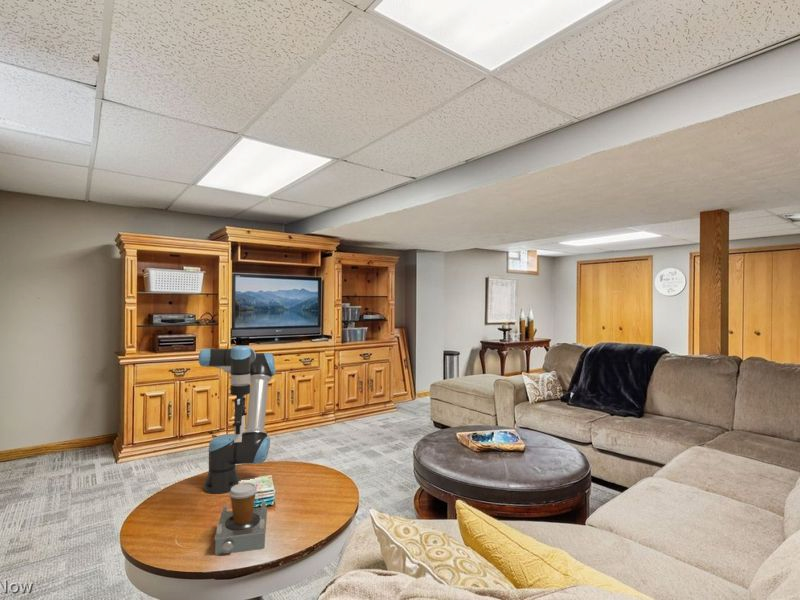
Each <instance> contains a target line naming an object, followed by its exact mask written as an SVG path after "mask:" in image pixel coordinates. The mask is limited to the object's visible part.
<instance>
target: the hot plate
mask: <svg viewBox="0 0 800 600" xmlns="http://www.w3.org/2000/svg"><path fill="white" fill-rule="evenodd" d="M266 504H267V503H266V501H261V507H256V508H253V515H252V520H251V521H250V522H249V523H246V524H242V525H238V524H235V523H234V520H233V511H232V510H229V511H228V505H223V506H222V507H221V508H222V511H221V514H220V518H219V520H218V523H217V525H216V532H215V534H214V540H215V541H214V542H215V547H214V548H215V551H214V552H215V556H218V555H219V556H220V555H225V554H232V553H233V554H234V553H242V552H247V551H255V550H262V549H265V547H266V532H267V531H266V530H267V519H268V518H267V516H268V507H267V505H266Z"/></svg>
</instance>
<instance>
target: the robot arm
mask: <svg viewBox="0 0 800 600" xmlns="http://www.w3.org/2000/svg"><path fill="white" fill-rule="evenodd" d="M198 364H199V366H201V367H203V368H204V367H207V368H209V367H210V368H212V367H214V368H217V369H220V370H223V372H225V373H227V374H230V376H229V377H228V379H230V384H231V385H230V387H229V390H230V391H229V392H230V395H231V396H236V397H235V399H234V400H233V401H234V420H233V423H232V427H234V428H233V430H234V431H233V433H226V434H221V435H218V436H216V437H214V438H212V439H211V440H210V441H209V446H208V473H207V475H206V478H205V482H204V485H203V487H204V488H203V490H204V491H205V492H206V493H208V494H215V495H216V494H224V493H229V492H230V491H231V488H232V487H233V486H235V485H237V484H238V481H239V482H240V478H239V474H238V472H237V469H236V465H245V464H248V465H249V464H254V465H255V464H262V463H264V462H266V460H267V458H268V455H269V451H270V446H271V445H270V444H271V437H270V436H268V432H267V431H266V430H265V427H266V426H265V424H266V414H267V413H266V412H267V401H268V391H269V389H268V386H269V382H270V381H271V380H272V379H273V377H274V376H275V375H276V364H275V357H274V355H273V353H268V352H256V351H255V350H254V349H253V348H251V347H250V346H249V345H236V346H232V347H230V348H210V347H209V348H201V350H199V354H198ZM246 395H248V402H247V411H246V400H247V399H246V397H245V396H246ZM245 417H246V418H245ZM245 420H246V421H245ZM245 422H246V423H245Z"/></svg>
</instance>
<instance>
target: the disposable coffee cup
mask: <svg viewBox="0 0 800 600" xmlns="http://www.w3.org/2000/svg"><path fill="white" fill-rule="evenodd" d="M257 492H258V488H257V486H256V484H255V483H252V482H241V483H239V484H237V485H235V486H233V487H232V488H231V491H229V492H228V493H229V496H230V501H231V509H232V510H231V511H233V520H234V523H235V524H238V525H242V524H246V523H249V522H250V521H251V520H252V515H253V509H254V506H255V502H256V501H255V499H256V495H257V494H256V493H257Z"/></svg>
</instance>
